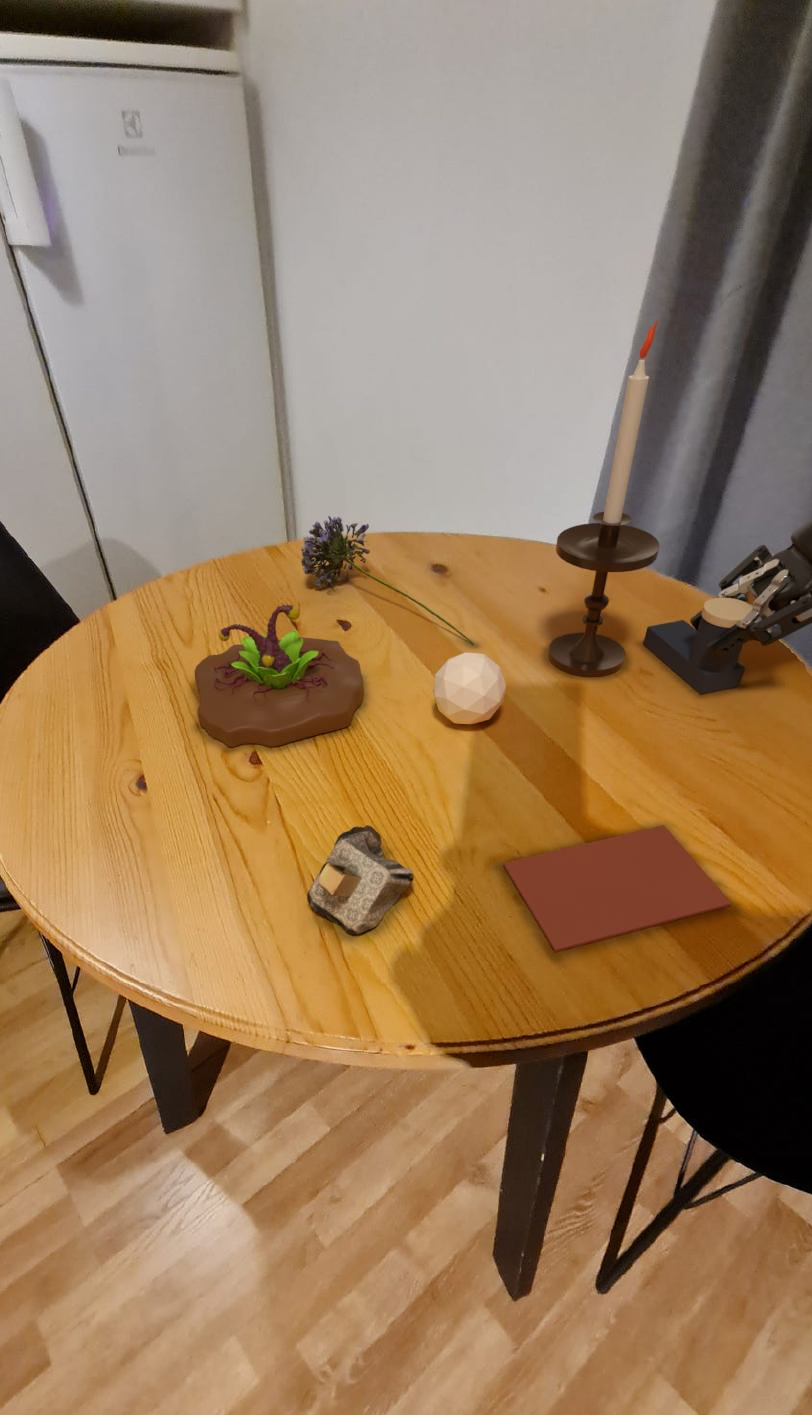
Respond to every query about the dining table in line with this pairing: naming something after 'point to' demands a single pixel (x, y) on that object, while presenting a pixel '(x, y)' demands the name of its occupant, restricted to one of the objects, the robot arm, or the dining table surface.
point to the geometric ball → (469, 688)
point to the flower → (339, 555)
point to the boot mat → (613, 887)
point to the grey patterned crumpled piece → (358, 882)
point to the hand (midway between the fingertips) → (702, 640)
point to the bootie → (701, 646)
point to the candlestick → (607, 546)
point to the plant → (277, 687)
